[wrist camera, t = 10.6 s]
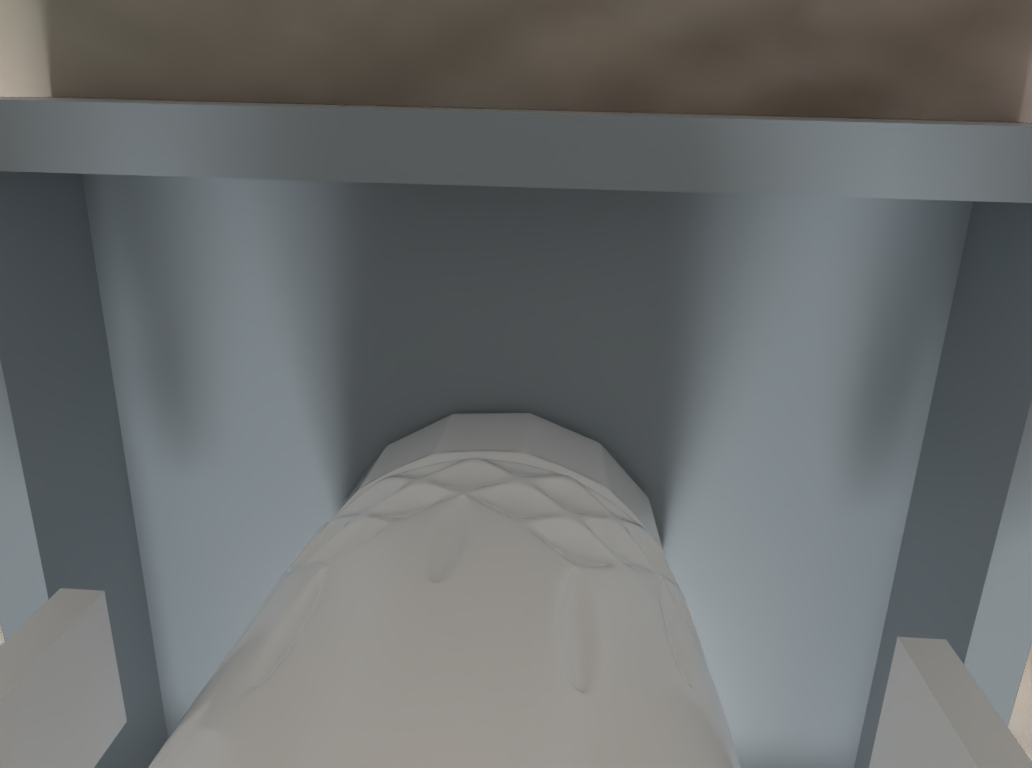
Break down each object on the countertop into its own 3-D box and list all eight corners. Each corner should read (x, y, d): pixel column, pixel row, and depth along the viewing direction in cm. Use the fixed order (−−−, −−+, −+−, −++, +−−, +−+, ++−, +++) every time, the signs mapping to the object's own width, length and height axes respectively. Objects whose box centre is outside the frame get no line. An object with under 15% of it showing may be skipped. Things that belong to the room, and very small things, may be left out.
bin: (165, 814, 21) (79, 968, 18) (49, 97, 15) (-120, 96, 12) (854, 865, 20) (919, 1037, 17) (1020, 122, 14) (1178, 130, 11)
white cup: (537, 762, 19) (502, 1433, 9) (248, 580, 18) (-124, 1138, 8) (769, 528, 16) (1038, 1118, 7) (453, 299, 15) (254, 633, 6)
